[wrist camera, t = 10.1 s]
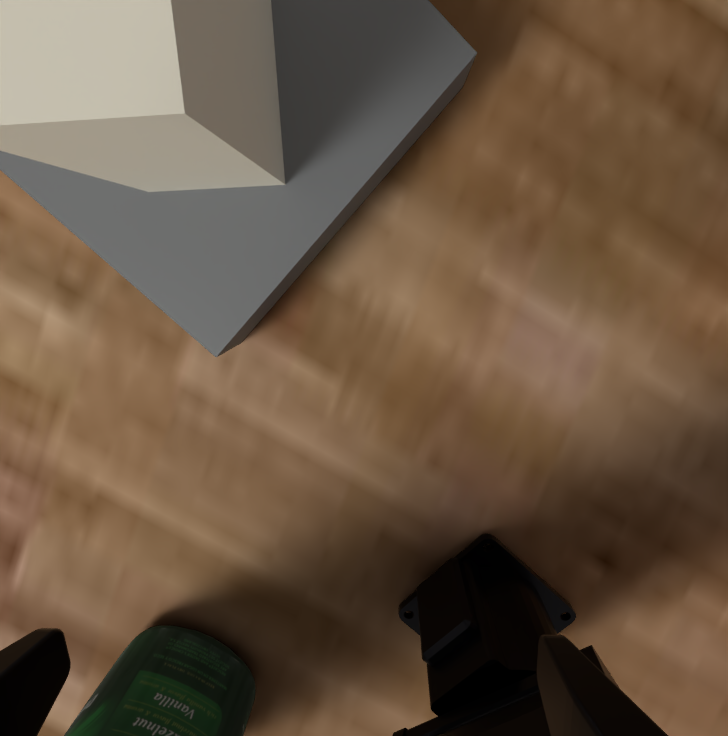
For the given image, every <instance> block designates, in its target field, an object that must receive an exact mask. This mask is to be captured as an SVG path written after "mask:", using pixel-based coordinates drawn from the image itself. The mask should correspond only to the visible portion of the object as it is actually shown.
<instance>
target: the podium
mask: <svg viewBox="0 0 728 736" xmlns="http://www.w3.org/2000/svg"><path fill="white" fill-rule="evenodd" d="M271 7H272V20H273V33H274V46H275V59H276V72H277V84H278V97H279V110H280V123H281V136H282V149H283V162H284V175H285V185H272V186H253V187H234V188H215V189H197V190H178V191H159V192H147V191H144V190H140V189H136V188H133V187H129V186H126V185H122V184H118V183H115V182H111V181H108V180H104V179H100V178H97V177H93V176H90V175H86V174H82V173H79V172H75V171H72V170H68V169H64V168H61V167H57V166H54V165H50V164H46V163H43V162H39V161H36V160H32V159H28V158H25V157H21V156H18V155H14V154H10V153H7V152H3V151H0V170H1V171H2V172H3V173H5V174H6V175H7V176H8V177H9V178H10V179H11V180H13V181H14V182H15V183H16V184H17V185H18V186H20V187H21V188H22V189H23V190H24V191H25V192H26V193H28V194H29V195H30V196H31V197H32V198H33V199H34V200H36V201H37V202H38V203H39V204H40V205H41V206H43V207H44V208H45V209H46V210H47V211H48V212H49V213H51V214H52V215H53V216H54V217H55V218H56V219H57V220H59V221H60V222H61V223H62V224H63V225H64V226H66V227H67V228H68V229H69V230H70V231H71V232H72V233H74V234H75V235H76V236H77V237H78V238H79V239H80V240H82V241H83V242H84V243H85V244H86V245H87V246H89V247H90V248H91V249H92V250H93V251H94V252H95V253H97V254H98V255H99V256H100V257H101V258H102V259H103V260H105V261H106V262H107V263H108V264H109V265H110V266H112V267H113V268H114V269H115V270H116V271H117V272H118V273H120V274H121V275H122V276H123V277H124V278H125V279H126V280H128V281H129V282H130V283H131V284H132V285H133V286H135V287H136V288H137V289H138V290H139V291H140V292H141V293H143V294H144V295H145V296H146V297H147V298H148V299H149V300H151V301H152V302H153V303H154V304H155V305H156V306H158V307H159V308H160V309H161V310H162V311H163V312H164V313H166V314H167V315H168V316H169V317H170V318H171V319H172V320H174V321H175V322H176V323H177V324H178V325H179V326H181V327H182V328H183V329H184V330H185V331H186V332H187V333H189V334H190V335H191V336H192V337H193V338H194V339H196V340H197V341H198V342H199V343H200V344H201V345H202V346H204V347H205V348H206V349H207V350H208V351H209V352H210V353H212V354H213V355H214V356H215V357H218V356H219V355H221V354H223V353H225V352H226V351H228V350H230V349H232V348H233V347H235V346H237V345H239V344H240V343H241V342H242V341H243V340H244V339H245V338H246V337H247V336H248V334H249V333H250V332H251V331H252V330H253V329H254V327H255V326H256V325H257V324H258V323H259V322H260V321H261V319H262V318H263V317H264V316H265V315H266V314H267V312H268V311H269V310H270V309H271V308H272V307H273V306H274V304H275V303H276V302H277V301H278V300H279V299H280V297H281V296H282V295H283V294H284V293H285V292H286V290H287V289H288V288H289V287H290V286H291V285H292V284H293V282H294V281H295V280H296V279H297V278H298V277H299V275H300V274H301V273H302V272H303V271H304V270H305V269H306V267H307V266H308V265H309V264H310V263H311V262H312V260H313V259H314V258H315V257H316V256H317V255H318V254H319V252H320V251H321V250H322V249H323V248H324V247H325V245H326V244H327V243H328V242H329V241H330V240H331V239H332V237H333V236H334V235H335V234H336V233H337V232H338V230H339V229H340V228H341V227H342V226H343V225H344V224H345V222H346V221H347V220H348V219H349V218H350V217H351V215H352V214H353V213H354V212H355V211H356V210H357V209H358V207H359V206H360V205H361V204H362V203H363V202H364V200H365V199H366V198H367V197H368V196H369V195H370V194H371V192H372V191H373V190H374V189H375V188H376V187H377V185H378V184H379V183H380V182H381V181H382V180H383V179H384V177H385V176H386V175H387V174H388V173H389V172H390V170H391V169H392V168H393V167H394V166H395V165H396V163H397V162H398V161H399V160H400V159H401V158H402V157H403V155H404V154H405V153H406V152H407V151H408V150H409V148H410V147H411V146H412V145H413V144H414V143H415V142H416V140H417V139H418V138H419V137H420V136H421V135H422V133H423V132H424V131H425V130H426V129H427V128H428V127H429V125H430V124H431V123H432V122H433V121H434V120H435V118H436V117H437V116H438V115H439V114H440V113H441V112H442V110H443V109H444V108H445V107H446V106H447V105H448V103H449V102H450V101H451V100H452V99H453V98H454V97H455V95H456V94H457V93H458V92H459V91H460V90H461V88H462V87H463V85H464V83H465V80H466V78H467V76H468V73H469V71H470V69H471V66H472V64H473V62H474V59H475V57H476V54H477V52H476V51H475V50H474V49H473V48H472V47H471V46H470V45H469V43H468V42H467V41H466V40H465V39H464V38H463V37H462V36H461V35H460V34H459V33H458V32H457V31H456V29H455V28H454V27H453V26H452V25H451V24H450V23H449V22H448V21H447V20H446V19H445V18H444V17H443V15H442V14H441V13H440V12H439V11H438V10H437V9H436V8H435V7H434V6H433V5H432V4H431V3H430V1H429V0H271Z"/></svg>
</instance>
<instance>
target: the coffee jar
mask: <svg viewBox="0 0 728 736" xmlns="http://www.w3.org/2000/svg"><path fill="white" fill-rule="evenodd" d="M255 691H256V690H255V681H254V678H253V676H252V673H251V671H250V670H249V668H248V667H247V665H246V664H245V663H244V662H243V661H242V660H241V659H240V658H239V657H238V656H237V655H236V654H234V652H233V651H232V650H231V649H229V648H228V647H226V646H225V645H223V644H222V643H221V642H219V641H218V640H216V639H214V638H213V637H210V636H208V635H205V634H203V633H201V632H198V631H196V630H191V629H186V628H182V627H178V626H155V627H152V628H149V629H147V630H145V631H144V632H142V633H141V634H139V635H138V636H137V637H136V638H135V639H134V640H133V641H132V642H131V643H130V644H129V645H128V647H127V648H126V649H125V650H124V651H123V653H122V654H121V655H120V657H119V658H118V659H117V661H116V662H115V664H114V665H113V667H112V668H111V669H110V671H109V672H108V674H107V675H106V676H105V678H104V679H103V681H102V682H101V683H100V685H99V686H98V688H97V689H96V690H95V692H94V693H93V695H92V696H91V697H90V699H89V700H88V702H87V703H86V704H85V706H84V707H83V709H82V710H81V712H80V713H79V715H78V716H77V718H76V719H75V720H74V722H73V723H72V725H71V726H70V728H69V729H68V731H67V732H66V734H65V735H64V736H243V734H244V731H245V728H246V725H247V722H248V718H249V715H250V712H251V709H252V706H253V703H254V699H255Z"/></svg>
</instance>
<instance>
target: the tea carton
mask: <svg viewBox="0 0 728 736" xmlns="http://www.w3.org/2000/svg"><path fill="white" fill-rule="evenodd" d="M0 151H3V152H7V153H10V154H14V155H18V156H21V157H25V158H28V159H32V160H36V161H39V162H43V163H46V164H50V165H54V166H57V167H61V168H64V169H68V170H72V171H75V172H79V173H82V174H86V175H90V176H93V177H97V178H100V179H104V180H108V181H111V182H115V183H118V184H122V185H126V186H129V187H133V188H136V189H140V190H144V191H147V192H159V191H178V190H197V189H215V188H234V187H253V186H272V185H285V175H284V162H283V149H282V136H281V123H280V110H279V97H278V84H277V72H276V59H275V46H274V33H273V20H272V7H271V0H0Z"/></svg>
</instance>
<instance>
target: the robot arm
mask: <svg viewBox="0 0 728 736" xmlns="http://www.w3.org/2000/svg"><path fill="white" fill-rule="evenodd" d="M487 543H490V544H492V545H491V546H490V547H484V545H485V544H487ZM406 611H412V612H411V613H406ZM564 612H567V613H566V614H562V613H564ZM399 617H400V619H401V620H402V621H403V622H404V623H406V624H407V625H408V626H409V627H410V628H412V629H413V630H414V631H415V632H416V633H418V634H419V635H420V638H421V650H422V659H423V661H425V662H426V663H427V673H428V684H429V695H430V706H431V710H432V711H433V712H434V713H435V714H436V715H437V716H438V717H436V718H433V719H431V720H429V721H427V722H424V723H422V724H420V725H418V726H415V727H413V728H411V729H409V730H408V729H407V728H403V729H401V730H399V731H397V732H394V733H393V736H668V735H667V734H666V733H665V732H664V731H663V730H662V729H661V728H660V727H659V726H658V725H657V724H656V723H655V722H654V721H653V720H651V719H650V718H649V717H648V716H647V715H646V714H645V713H644V712H643V711H642V710H641V709H640V708H639V707H638V706H637V705H636V704H635V703H634V702H633V701H632V700H631V699H630V698H629V697H628V696H627V695H626V694H624V693H623V692H622V691H621V690H620V688H619V687H618V685H617V684H616V682H615V681H614V679H613V677H612V676H611V674H610V673H609V671H608V670H607V668H606V667H605V665H604V663H603V662H602V660H601V659H600V657H599V656H598V654H597V653H596V651H595V649H594V648H593V646H592V645H590V646H588V647H586V648H584V649H581V650H579V649H578V648H577V647H576V646H575V645H574V644H573V643H572V642H570V641H569V640H568V639H567V638H566V637H565V636H563V635H557V634H558V633H559V632H560V631H562V630H563V629H564V628H566V627H567V626H568V625H570V624H571V623H572V622H573V621H574V620H575V618H576V614H575V612H574V610H573V608H572V606H571V605H570V604H569V603H568V602H567V601H566V600H565V599H564V598H562V597H561V596H560V595H559V594H558V593H557V592H556V591H555V590H553V589H552V588H551V587H550V586H549V585H548V584H547V583H546V582H545V581H543V580H542V579H541V578H540V577H539V576H538V575H537V574H536V573H534V572H533V571H532V570H531V569H530V568H529V567H528V566H527V565H526V564H524V563H523V562H522V561H521V560H520V559H519V558H518V557H517V556H515V555H514V554H513V553H512V552H511V551H510V550H509V549H508V548H506V547H505V546H504V545H503V544H502V543H501V542H500V541H499V540H498V539H496V538H495V537H494V536H492V535H491V534H483V535H481V536H480V537H478V538H477V539H476V540H475V541H474V542H473V543H471V544H470V545H469V546H468V547H467V548H465V549H464V550H463V551H462V552H461V553H460V554H458V555H457V556H456V557H455V558H452V559H450V560H449V561H447V562H446V563H445V564H444V565H443V566H442V567H440V568H439V569H438V570H437V571H436V572H435V573H433V574H432V575H431V576H430V577H429V578H428V579H426V580H425V581H424V582H423V583H422V584H420V585H419V586H418V587H417V590H416V591H415V592H414V593H413V594H411V595H410V596H409V597H408V598H407V599H406V600H404V601H403V602H402V603H401V604H400V606H399ZM69 671H70V658H69V653H68V649H67V645H66V641H65V637H64V633H63V632H62V631H61V630H60V629H57V628H41V629H37V630H35V631H33V632H31V633H30V634H28V635H26V636H25V637H23V638H21V639H20V640H18V641H16V642H15V643H13V644H11V645H9V646H8V647H6V648H4V649H3V650H1V651H0V736H37V735H38V733H39V731H40V729H41V727H42V725H43V723H44V721H45V719H46V717H47V716H48V714H49V712H50V710H51V708H52V706H53V704H54V702H55V700H56V698H57V696H58V695H59V693H60V691H61V689H62V687H63V685H64V683H65V681H66V679H67V677H68V674H69Z"/></svg>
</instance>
